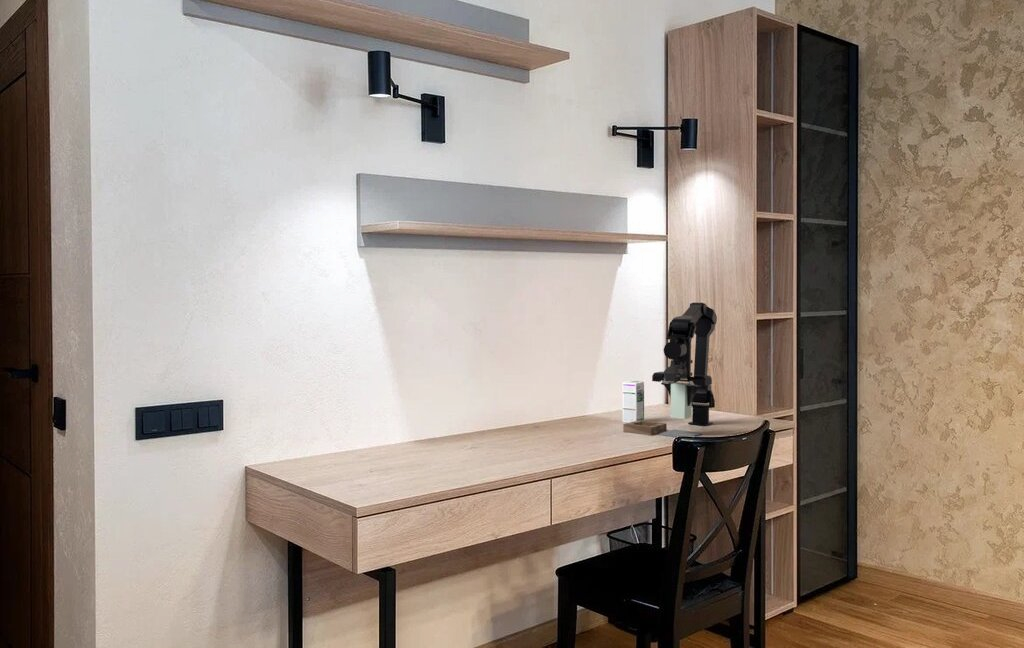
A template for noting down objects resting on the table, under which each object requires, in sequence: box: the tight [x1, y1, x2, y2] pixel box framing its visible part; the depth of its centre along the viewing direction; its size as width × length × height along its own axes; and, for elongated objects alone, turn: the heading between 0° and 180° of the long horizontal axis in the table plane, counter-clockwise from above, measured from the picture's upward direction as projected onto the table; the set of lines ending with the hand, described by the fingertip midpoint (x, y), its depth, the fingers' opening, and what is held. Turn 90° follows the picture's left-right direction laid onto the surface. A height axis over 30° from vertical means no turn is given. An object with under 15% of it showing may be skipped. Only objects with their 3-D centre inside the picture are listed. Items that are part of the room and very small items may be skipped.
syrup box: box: [621, 380, 645, 424], centre depth 299 cm, size 6×6×14 cm
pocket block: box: [622, 420, 668, 436], centre depth 282 cm, size 10×10×2 cm
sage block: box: [669, 381, 692, 420], centre depth 275 cm, size 5×5×11 cm
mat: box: [659, 428, 702, 438], centre depth 276 cm, size 10×10×1 cm
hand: (681, 405), depth 276 cm, fingers closed on sage block, 5 cm apart
